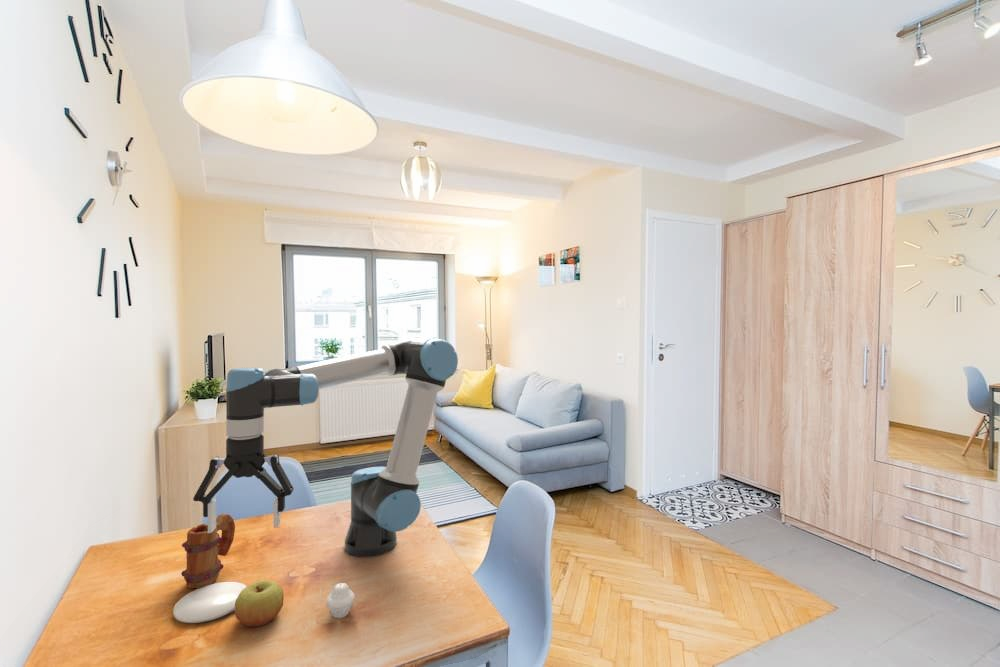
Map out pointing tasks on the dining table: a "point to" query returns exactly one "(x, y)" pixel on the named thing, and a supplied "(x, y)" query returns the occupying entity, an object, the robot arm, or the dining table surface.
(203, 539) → the mug
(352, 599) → the white rounded piece
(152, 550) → the dining table surface
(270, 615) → the apple
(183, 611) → the plate
